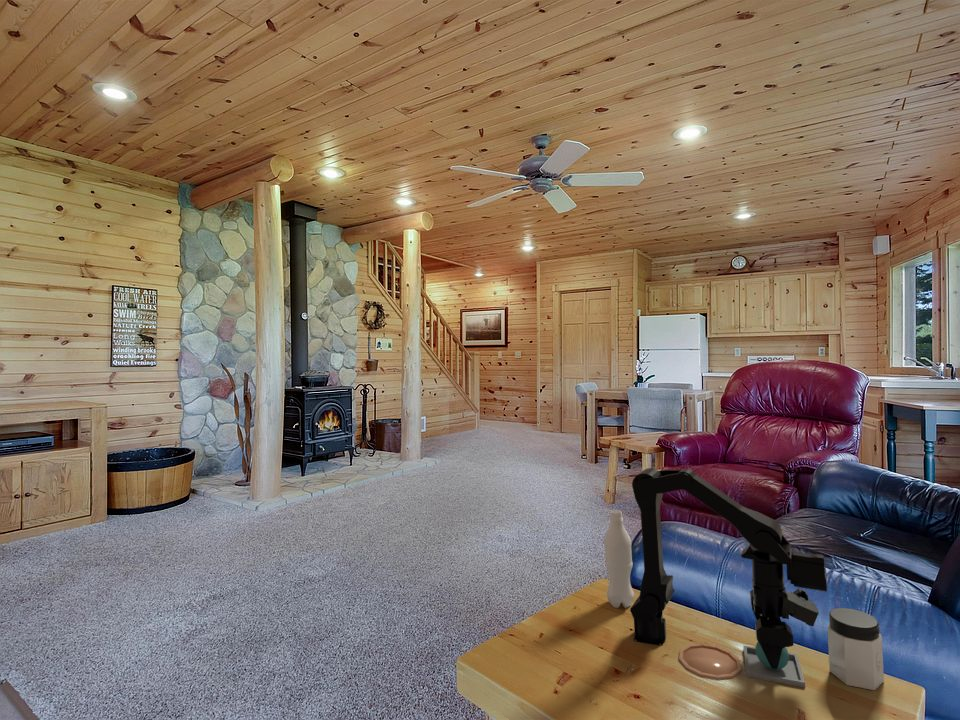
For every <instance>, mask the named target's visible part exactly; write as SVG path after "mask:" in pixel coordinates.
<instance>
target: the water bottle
mask: <svg viewBox="0 0 960 720" xmlns="http://www.w3.org/2000/svg"><path fill="white" fill-rule="evenodd" d="M609 513H610V517H609V522H610V524H609V527H608V529H607V531H606V533H605V535H604V539H603V545H604V557H605V560H604V564H605V566H606V569H607V571H608V577H609V578H608V586H607V589H606V597H607V600H608V602H609V603H610V604H611V605H612V607H613V608H616V609H620V606H621V604H622V606H623V608H624V609H627V608H629V607H632V605H633V603H634V598H635V592H634V590H633V587H632V584H631V572H632V570H633V567H634V566H633V559H632V558H633V555H632V554H633V553H632V540H631V537H630V535H629V533H628V531H627V529H626V527H625V526H624V518H623V511H621V510H619V509H612V510H610V512H609Z"/></svg>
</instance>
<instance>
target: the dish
mask: <svg viewBox="0 0 960 720" xmlns="http://www.w3.org/2000/svg"><path fill="white" fill-rule="evenodd" d="M678 656H679V657H678V661H679V662H680V663H681V664H682V666H684V667H685V669H686V670H688V671H689V672H692V673H693V674H696V675H698V676H700V677H704V678H708V679H713V680H718V681H719V680H726V679H727V680H728V679H733V678H735V677H736V676H737V675H739V674H740V673H742V663H741V662H742V661H741V660H740V659H739V657H737V656H736V655H735V654H734V653H733V652H732V651H730V650H727V649H726V648H724V647H721V646H718V645H713V644H708V643H692V644H687V645H686V646H683V648H681V649H680V650H679V654H678Z"/></svg>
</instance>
